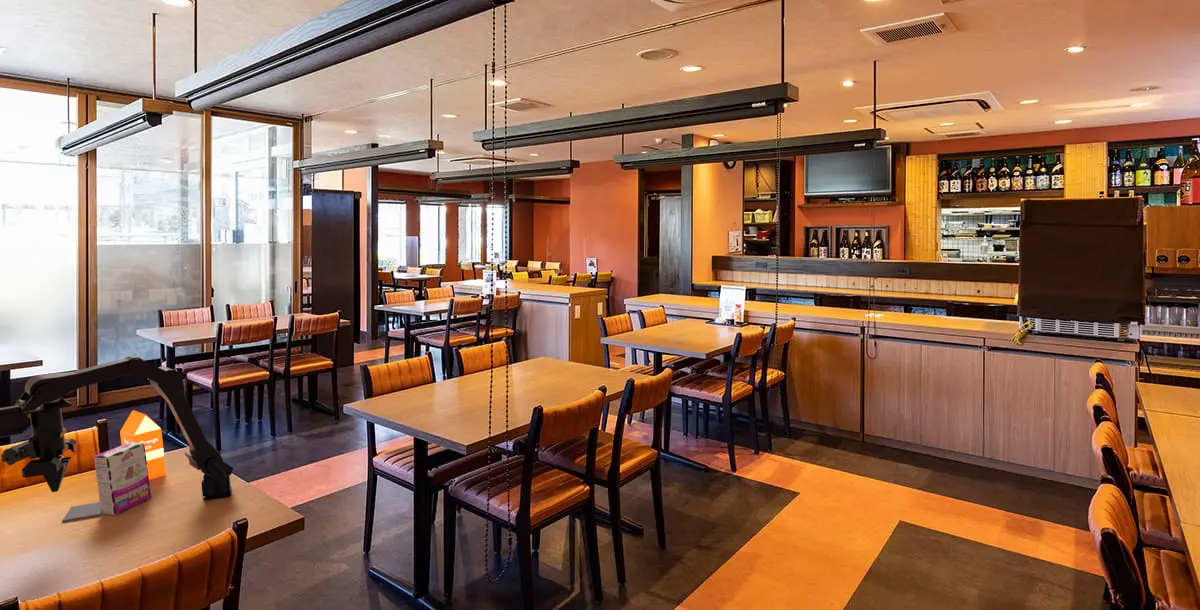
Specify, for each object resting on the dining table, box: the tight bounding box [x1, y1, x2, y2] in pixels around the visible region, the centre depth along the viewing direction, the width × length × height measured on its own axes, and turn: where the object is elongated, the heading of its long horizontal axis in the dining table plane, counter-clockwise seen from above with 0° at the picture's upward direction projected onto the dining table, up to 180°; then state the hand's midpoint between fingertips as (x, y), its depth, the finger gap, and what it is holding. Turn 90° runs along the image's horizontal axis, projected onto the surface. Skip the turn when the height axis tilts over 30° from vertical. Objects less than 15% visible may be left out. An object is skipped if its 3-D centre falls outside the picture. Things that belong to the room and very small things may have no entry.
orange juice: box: [119, 409, 167, 481], centre depth 200 cm, size 8×9×20 cm
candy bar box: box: [93, 442, 152, 516], centre depth 179 cm, size 11×5×16 cm, turn 167°
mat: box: [61, 501, 103, 523], centre depth 177 cm, size 8×9×1 cm
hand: (55, 491), depth 159 cm, fingers closed
